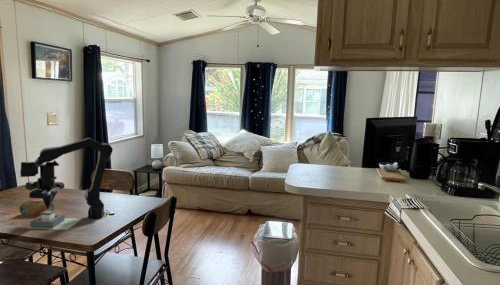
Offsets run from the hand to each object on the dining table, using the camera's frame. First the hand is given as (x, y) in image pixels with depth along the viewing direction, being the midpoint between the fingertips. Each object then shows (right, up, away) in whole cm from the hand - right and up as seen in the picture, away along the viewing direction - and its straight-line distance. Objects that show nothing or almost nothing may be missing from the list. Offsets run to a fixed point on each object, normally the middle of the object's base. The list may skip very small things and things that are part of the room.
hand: (48, 207), depth 151 cm
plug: (0, -8, +1) cm, 8 cm away
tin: (-13, -7, +12) cm, 19 cm away
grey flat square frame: (0, -8, +1) cm, 8 cm away
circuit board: (+2, -9, +2) cm, 10 cm away
